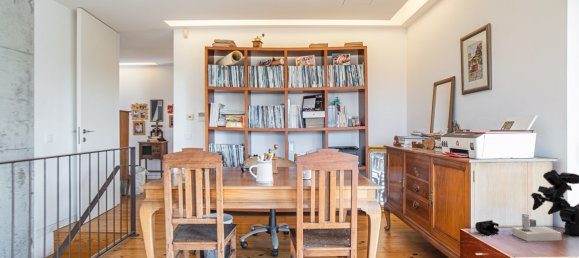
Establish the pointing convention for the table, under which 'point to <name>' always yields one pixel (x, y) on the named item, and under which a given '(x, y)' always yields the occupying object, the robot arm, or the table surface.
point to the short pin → (532, 222)
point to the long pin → (525, 222)
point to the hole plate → (537, 234)
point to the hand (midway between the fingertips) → (540, 211)
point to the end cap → (487, 227)
